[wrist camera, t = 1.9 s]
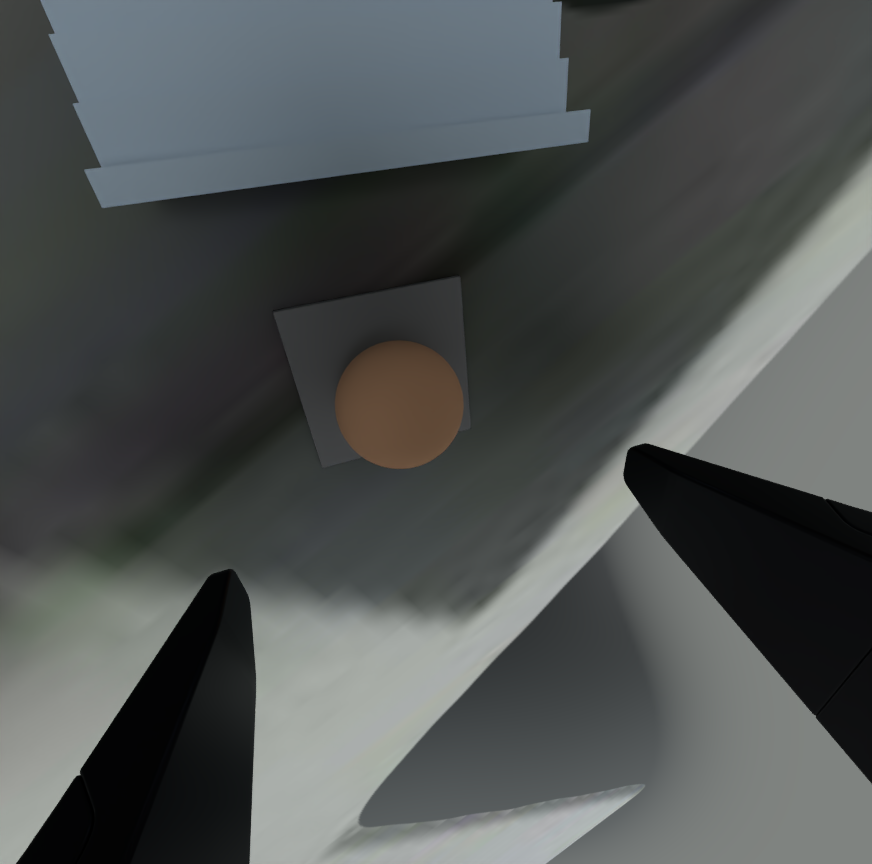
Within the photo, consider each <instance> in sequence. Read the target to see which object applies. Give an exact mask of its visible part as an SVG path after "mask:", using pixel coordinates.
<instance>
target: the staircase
mask: <svg viewBox="0 0 872 864" xmlns="http://www.w3.org/2000/svg"><path fill="white" fill-rule="evenodd" d="M40 1H41V3H42V5H43V7H44V10H45V12H46V14H47V16H48V19H49V21H50V23H51V25H52V28H53V30H54V32H55V34H49V37H50V39H51V41H52V43H53V46H54V48H55V50H56V52H57V54H58V57H59V59H60V61H61V63H62V66H63V68H64V70H65V72H66V75H67V77H68V79H69V81H70V84H71V86H72V88H73V90H74V92H75V95H76V97H77V99H78V101H79V103H73V106H74V108H75V110H76V112H77V115H78V117H79V119H80V121H81V123H82V126H83V128H84V130H85V132H86V134H87V137H88V139H89V141H90V143H91V145H92V148H93V150H94V152H95V154H96V156H97V159H98V161H99V163H100V165H101V167H102V168H93V169H85V170H84V171H85V173H86V175H87V177H88V179H89V181H90V184H91V186H92V188H93V190H94V192H95V194H96V196H97V198H98V200H99V202H100V205H101V207H102V208H106V207H114V206H121V205H128V204H136V203H143V202H150V201H158V200H165V199H172V198H180V197H187V196H195V195H202V194H209V193H217V192H224V191H231V190H239V189H246V188H253V187H261V186H268V185H275V184H283V183H290V182H297V181H305V180H312V179H319V178H327V177H334V176H341V175H349V174H356V173H363V172H371V171H378V170H386V169H393V168H400V167H408V166H415V165H422V164H430V163H437V162H444V161H452V160H459V159H466V158H474V157H481V156H488V155H496V154H503V153H510V152H518V151H525V150H532V149H540V148H547V147H554V146H562V145H569V144H577V143H584V142H588V137H589V124H590V111H591V109H588V110H579V111H571V112H566V100H567V80H568V61H569V58H562V59H559V54H560V30H561V7H562V2H552V0H40Z"/></svg>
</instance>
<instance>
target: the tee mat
mask: <svg viewBox="0 0 872 864" xmlns="http://www.w3.org/2000/svg"><path fill="white" fill-rule="evenodd" d="M273 314H274V317H275V321H276V324H277V327H278V330H279V333H280V336H281V339H282V343H283V346H284V349H285V352H286V355H287V358H288V362H289V365H290V368H291V371H292V374H293V377H294V380H295V384H296V387H297V390H298V393H299V396H300V399H301V403H302V406H303V409H304V412H305V415H306V418H307V421H308V425H309V428H310V431H311V434H312V437H313V440H314V444H315V447H316V450H317V453H318V456H319V459H320V462H321V466H322V468H325V467H329V466H333V465H337V464H340V463H344V462H348V461H352V460H355V459H359V458H363V457H362V456H360V455H359V454H358V453H356V452H355V451H354V450H353V449H352V448H351V446H350V445H349V444H348V442H347V441H346V440H345V438H344V436H343V435H342V433H341V431H340V428H339V425H338V422H337V419H336V413H335V396H336V390H337V386H338V383H339V380H340V378H341V376H342V374H343V372H344V371H345V369H346V368H347V366H348V365H349V364H350V362H351V361H352V360H353V359H354V358H355V357H356V356H357V355H359V354H360V353H361V352H363V351H364V350H366V349H368V348H369V347H371V346H374V345H376V344H379V343H382V342H387V341H396V340H403V341H411V342H415V343H419V344H421V345H424V346H426V347H428V348H430V349H432V350H434V351H435V352H437V353H438V354H439V355H440V356H442V357H443V358H444V359H445V360H446V361H447V362H448V363H449V365H450V366H451V368H452V369H453V370H454V372H455V374H456V376H457V378H458V380H459V382H460V386H461V389H462V393H463V402H464V410H463V417H462V421H461V425H460V428H459V430H458V432H460V431H464V430H467V429H471V421H470V407H469V392H468V378H467V363H466V349H465V334H464V320H463V306H462V291H461V277H460V276H459V275H456V276H451V277H446V278H441V279H436V280H430V281H425V282H420V283H415V284H409V285H404V286H399V287H394V288H389V289H383V290H378V291H373V292H368V293H363V294H357V295H352V296H347V297H342V298H336V299H331V300H326V301H321V302H316V303H310V304H305V305H300V306H295V307H290V308H284V309H279V310H274V311H273Z"/></svg>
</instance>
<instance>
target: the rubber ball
mask: <svg viewBox="0 0 872 864" xmlns="http://www.w3.org/2000/svg"><path fill="white" fill-rule="evenodd" d="M463 410H464V402H463V393H462V389H461V386H460V382H459V380H458V378H457V376H456V374H455V372H454V370H453V369H452V368H451V366H450V365H449V363H448V362H447V361H446V360H445V359H444V358H443V357H442V356H440V355H439V354H438V353H437V352H435V351H434V350H432V349H430V348H428V347H426V346H424V345H421V344H419V343H415V342H411V341H403V340H396V341H387V342H382V343H379V344H376V345H374V346H371V347H369V348H368V349H366V350H364V351H363V352H361V353H360V354H359V355H357V356H356V357H355V358H354V359H353V360H352V361H351V362H350V364H349V365H348V366H347V368H346V369H345V371H344V372H343V374H342V376H341V378H340V380H339V383H338V386H337V390H336V396H335V413H336V419H337V422H338V425H339V428H340V431H341V433H342V435H343V436H344V438H345V440H346V441H347V442H348V444H349V445H350V446H351V448H352V449H353V450H354V451H355V452H356V453H358V454H359V455H360V456H362V457H363V458H364V459H366V460H368V461H370V462H372V463H374V464H376V465H379V466H382V467H386V468H393V469H407V468H413V467H417V466H420V465H423V464H425V463H428V462H430V461H431V460H433V459H435V458H436V457H438V456H439V455H440V454H441V453H442V452H444V451H445V450H446V449H447V447H448V446H449V445H450V444H451V442H452V441H453V439H454V438H455V436H456V434H457V432H458V430H459V428H460V425H461V421H462V417H463Z"/></svg>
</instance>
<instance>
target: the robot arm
mask: <svg viewBox="0 0 872 864" xmlns="http://www.w3.org/2000/svg"><path fill="white" fill-rule="evenodd" d="M623 476H624V481H625V483H626V485H627V486H628V488H629V489H630V491H631V492H632V493H633V495H634V496H635V498H636V499H637V501H638V502H639V504H640V505H641V507H642V508H643V509H644V511H645V512H646V514H647V515H648V516H649V518H650V519H651V521H652V522H653V524H654V525H655V527H656V528H657V530H658V531H659V532H660V534H661V535H662V536H663V537H664V539H665V540H666V541H667V542H668V543H669V545H670V546H671V547H672V548H673V549H674V551H675V552H676V553H677V554H678V555H679V557H680V558H681V559H682V560H683V561H684V562H685V564H686V565H687V566H688V567H689V568H690V570H691V571H692V572H693V573H694V574H695V575H696V576H697V578H698V579H699V580H700V581H701V582H702V584H703V585H704V586H705V587H706V588H707V589H708V591H709V592H710V593H711V594H712V596H713V597H714V598H715V599H716V600H717V601H718V603H719V604H720V605H721V606H722V607H723V608H724V610H725V611H726V612H727V613H728V614H729V615H730V617H731V618H732V619H733V620H734V621H735V623H736V624H737V625H738V626H739V627H740V628H741V630H742V631H743V632H744V633H745V634H746V635H747V637H748V638H749V639H750V640H751V641H752V643H753V644H754V645H755V646H756V647H757V648H758V650H759V651H760V652H761V653H762V654H763V656H765V658H766V659H767V660H768V662H769V663H770V664H771V665H772V666H773V667H774V669H775V670H776V671H777V672H778V673H779V674H780V676H781V677H782V678H783V679H784V680H785V682H786V683H787V684H788V685H789V686H790V687H791V689H792V690H793V691H794V692H795V693H796V695H797V696H798V697H799V698H800V699H801V700H802V702H804V704H805V705H806V706H807V707H808V709H809V710H810V711H811V712H812V713H813V714H814V715H816V718H817V720H818V721H819V722H820V723H821V724H822V726H823V727H824V728H825V729H826V730H827V731H828V733H829V734H830V735H831V736H832V737H833V738H834V740H835V741H836V742H837V743H838V744H839V746H840V747H841V748H842V749H843V750H844V751H845V753H846V754H847V755H848V756H849V757H850V759H851V760H852V761H853V762H854V763H855V764H856V766H857V767H858V768H859V769H860V770H861V772H862V773H863V774H864V775H865V776H866V777H867V779H868V780H869V781H870V782H871V783H872V512H869V511H866V510H863V509H859V508H855V507H852V506H848V505H846V504H842V503H839V502H836V501H833V500H829V499H823V497H819V496H816V495H813V494H810V493H807V492H803V491H800V490H797V489H794V488H790V487H787V486H784V485H780V484H777V483H773V482H770V481H768V480H764V479H761V478H758V477H754V476H751V475H748V474H744V473H741V472H738V471H735V470H731V469H728V468H725V467H722V466H719V465H715V464H712V463H709V462H706V461H702V460H699V459H696V458H693V457H689V456H686V455H683V454H680V453H677V452H673V451H670V450H667V449H664V448H660V447H657V446H654V445H651V444H646V443H645V444H640V445H637V446H634V447H631V448H630V449H629V450H628V452H627V456H626V462H625V467H624V473H623ZM255 705H256V670H255V657H254V644H253V632H252V619H251V607H250V600H249V597H248V594H247V592H246V590H245V588H244V587H243V585H242V583H241V581H240V579H239V578H238V576H237V574H236V572H235V571H234V570H232V569H227V570H224V571H221V572H217V573H214V574H212V575H210V576H209V577H208V578H207V580H206V581H205V583H204V584H203V586H202V587H201V589H200V590H199V592H198V593H197V595H196V596H195V598H194V599H193V601H192V602H191V604H190V605H189V607H188V608H187V610H186V611H185V613H184V614H183V616H182V617H181V619H180V620H179V622H178V623H177V625H176V626H175V628H174V629H173V631H172V633H171V634H170V636H169V637H168V639H167V640H166V642H165V643H164V645H163V646H162V648H161V649H160V651H159V652H158V654H157V655H156V657H155V658H154V660H153V661H152V663H151V664H150V666H149V667H148V669H147V670H146V672H145V673H144V675H143V676H142V678H141V679H140V681H139V682H138V684H137V685H136V687H135V688H134V690H133V691H132V693H131V694H130V696H129V697H128V699H127V700H126V702H125V703H124V705H123V706H122V708H121V709H120V711H119V712H118V714H117V715H116V717H115V718H114V720H113V721H112V723H111V724H110V726H109V727H108V729H107V731H106V732H105V734H104V735H103V737H102V738H101V740H100V741H99V743H98V744H97V746H96V747H95V749H94V750H93V752H92V753H91V755H90V756H89V758H88V759H87V761H86V762H85V764H84V765H83V767H82V768H81V770H80V774H81V775H78V776H76V777H75V778H74V780H73V781H72V783H71V784H70V786H69V787H68V789H67V790H66V792H65V793H64V795H63V797H62V798H61V800H60V801H59V803H58V804H57V806H56V807H55V808H54V810H53V811H52V813H51V814H50V816H49V817H48V819H47V820H46V822H45V823H44V824H43V826H42V827H41V829H40V830H39V832H38V833H37V835H36V836H35V838H34V839H33V840H32V842H31V843H30V845H29V846H28V848H27V849H26V851H25V852H24V853H23V855H22V856H21V858H20V859H19V860H18V862H17V863H16V864H249V861H250V835H251V809H252V783H253V757H254V731H255Z"/></svg>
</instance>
